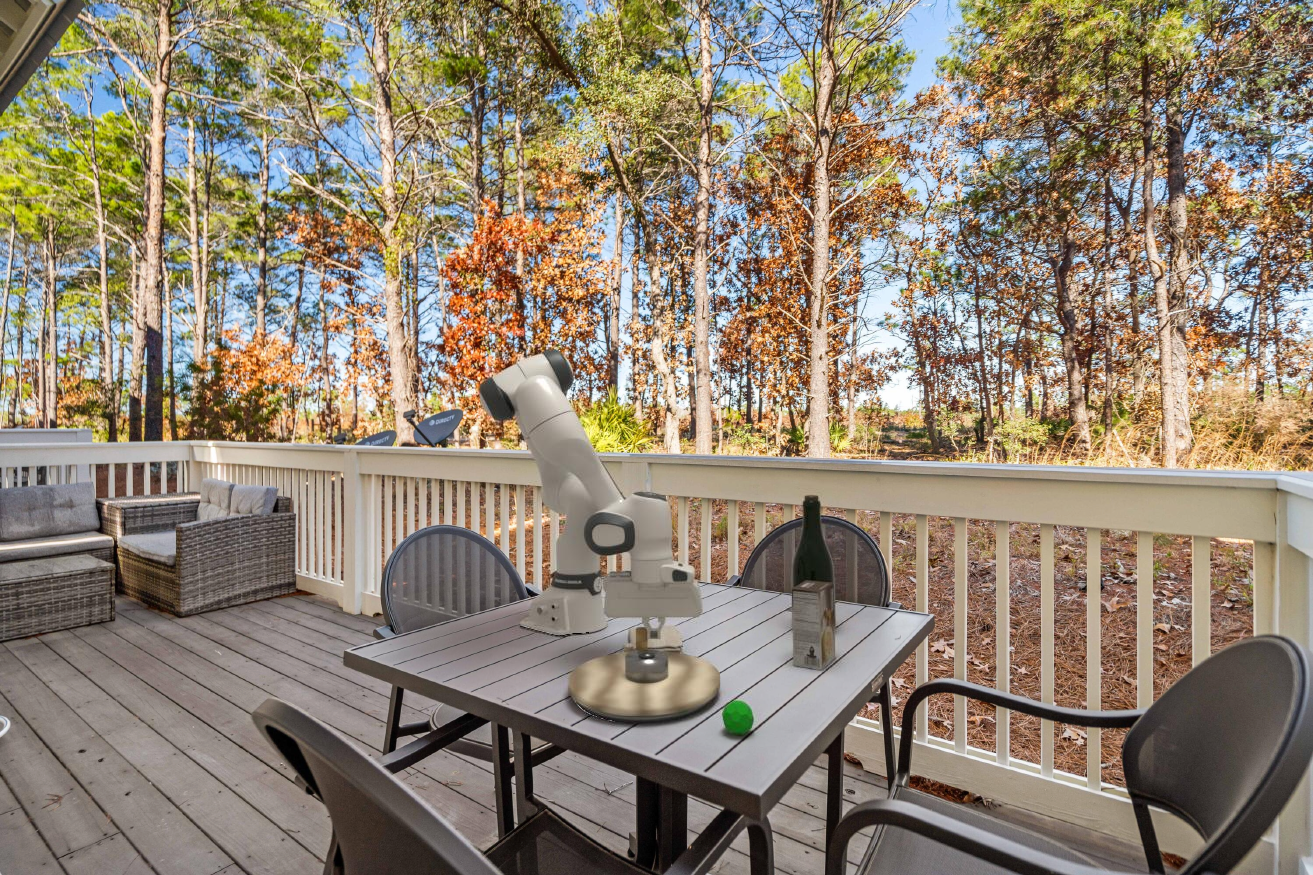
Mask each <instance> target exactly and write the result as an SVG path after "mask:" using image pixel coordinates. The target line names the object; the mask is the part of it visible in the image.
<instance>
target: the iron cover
mask: <svg viewBox="0 0 1313 875" xmlns="http://www.w3.org/2000/svg"><path fill="white" fill-rule="evenodd" d="M668 675H669V674H668V654H667V653H665V652H663V651H659V650H651V649H645V650H637V651H633V652H630V653H628V654H627V655H626V656H625V676H626V678H627V679H628V680H629V681H632V682H635V683H644V684H648V683H656V682H660V681H663V680H665V679H666V678H668Z"/></svg>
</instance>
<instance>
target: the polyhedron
mask: <svg viewBox="0 0 1313 875" xmlns="http://www.w3.org/2000/svg"><path fill="white" fill-rule="evenodd" d="M721 716H722V721H723V725H724V728H725V729H726V730H727V731H728V732H729V733H731V734H733V735H738V736H742V735H744V734H746V733H747V732H748V731H750V730H751V729H752V728H753V725H754V722H755V718H754V714H753V711H752V708H751V707H750V705H748V704H747V703H746V702H745V701H743V700H733V701H731V702H730V703H729V704H727V705H726V706H724V707H723V710H722V713H721Z"/></svg>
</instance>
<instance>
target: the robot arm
mask: <svg viewBox="0 0 1313 875" xmlns="http://www.w3.org/2000/svg"><path fill="white" fill-rule="evenodd" d="M574 381H575V377H574V371H573V366H572V365H571V363H570V360H569V359H568V358H567V357H566V356H565V355H564V354H563V353H562V352H561V351H559V350H558V349H555V348H553V349H552V348H551V349H547V350H543V351H541V353H539V354H534V355H532V356H529V357H527V358H524V359H521V360H519V361H517V362H515V363H514V364H513V365H510V366H509V367H507V368H504V369H503V370H501V371H500V372H498V373H497V374H495V375H493V376H489V377H488V378H486V379H484V380H483V381H482V382H481V383H480V384H479V388H478V393H479V394H478V395H479V402H480V404H481V407H482V409H483V410H484V412H485V413H486V414H487V415H488V416H489V417H491V418H492V419H493V420H494V421H498V422H506V421H511V420H514V417H515V420H516V422H517V425H518V428H519V430H520V433H521V434H522V436H523V439H524V441H525V443H526V444H527V447H528V449H529V451H530V453H531V455H532V457H533V459H534V461H535V463H536V466H537V469H538V473H539V476H540V481H541V488H540V498H541V501H542V503H543V504H544V506H545V507H546V508H548V510H551V511H552V512H554V513H556V514H559V515H564V516H565V518H564V519H565V520H564V521H565V522H564V525H563V529H562V532H561V533H560V535H558V538H557V539H556V542H555V554H556V555H555V557H556V558H555V559H556V560H555V561H556V562H555V564H556V565H555V566H556V570H555V571H553V572H552V573H549V574H547V576H548V577H547V580H550V579H552V580H551V582H550V585H549V586H548V587H547V588H545V589H544V590H543V591H542V592H541V593H540V594H539V595H537V596H535V598H534V599H532V601H531V603H530V606H529V613H528V616H527V617H525V618H524V619H522V620H521V621H520V622H519V626H520V625H522V626H526V627H529V628H533V629H537V630H541V631H544V632H549V633H552V634H556V635H565V634H570V635H572V634H571V633H582V634H587V633H586V632H589V633H594V632H597V631H600V630H603V629H605V628H606V627H607V626H608V622H607V618H609V619H610V618H611V619H615V618H619V619H620V618H622V619H623V618H624V619H625V618H634V619H635V618H637V619H638V618H641V623H642V625H643V627H645V628H646V630H647V631H648V639H660V638H661V629H662V627H663V626H665V623H666V618H699V617H701V616H702V614H703V597H702V591H701V586H700V584H699V582H698V581H697V579H695V578H696V570H695V567H694V566H693V565H690V564H686V563H684V562H681V561H677V560H675V559H674V553H673V549H672V538H673V521H672V512H671V507H670V503H669V500H668V499H667V498H666V497H665V495H662V494H659V493H656V492H651V491H636V492H633V493H632V494H631V495H629V496H628V497H627V498H626V497H625V495H623V493H622V492H621V490H620V488H619V487H618V485H617V483H616V482H615V480H614V479H613V476H611V474H610V472H609V471H608V469H607V467H606V466H605V464H604V462H603V461H602V459H601V458H600V457H599V455H598V453H597V452H596V449H595V448H594V446H593V444H592V442H591V440H590V439H589V437H588V435H587V432H586V430H585V428H584V426H583V424H582V422H581V420H580V418H579V416H578V414H577V413H576V412H575V409H574V407H573V406H572V404H571V403H570V401H569V399H568V398H567V397H566V395H565V393H566V392H567V391H569V390H570V389H571V387H572V386H573V384H574ZM624 553H628V554H629V556H630V570H622V571H616V570H615V571H613V570H612V571H609V572H608V573H606V574H605V575H604V577H603V573H602V569H601V556H603V557H605V556H606V557H611V556H616V555H619V554H624ZM602 589H603V591H604V592H605V595H604V602H603V600H602ZM606 617H607V618H606ZM651 618H657V623H659V624H658V626H657V627H658V628H652V626H651V624H650V623H649V622H650V620H651ZM565 636H566V635H565Z"/></svg>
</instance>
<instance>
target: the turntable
mask: <svg viewBox="0 0 1313 875" xmlns="http://www.w3.org/2000/svg"><path fill="white" fill-rule="evenodd" d="M635 628H636V651H637V650H645V649H648V635H647V630H646V628H645V627H644V626H638V627H635ZM630 652H633V651H630ZM630 652H624V651H622V652H617V653H612V654H606V655H602V656H599V657H596V658H593V659H590V660H588V661H586V662H583V663H582V664H580V665H579V666H576V667H575V668H574V669H573V670H572V671H571V673H570V674H569V676H568V680H567V681H568V682H567V683H568V686H567V687H568V694H569V695H570V697H571V698H572V700H574V702H575V701H576V702H578V703H579V704H581V705H583V706H585V707H587V708H590V709H593V710H595V711H599V712H603V713H608V714H614V715H623V716H656V715H665V714H672V713H677V712H682V711H685V710H689V709H692V708H695V707H698V706H700V705H702V704H704V703H706V702H708V701H709V700H711V699H712V698H713V697H714V696H716V695H717V694H718V693H719V691H720V688H721V674H720V671H719V669H717V668H716V667H715V665H713V664H712V663H710V662H709V661H707V660H704V659H702V658H700V657H696V656H693V655H690V654H686V653H683V652H682V653H676V652H668V651H663V652H665V653H667V654H668V674H669V675H668V678H666V679H665V680H663V681H660V682H656V683H648V684H644V683H635V682H632V681H629V680H628V679H627V678H626V676H625V656H626V655H627V654H628V653H630ZM714 698H715V697H714Z"/></svg>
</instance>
